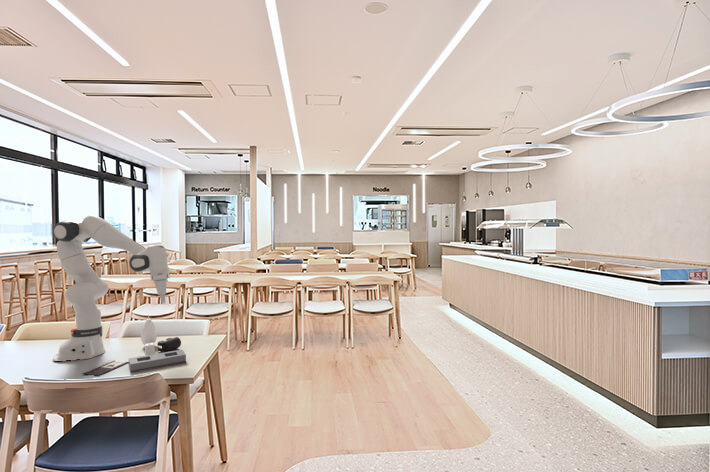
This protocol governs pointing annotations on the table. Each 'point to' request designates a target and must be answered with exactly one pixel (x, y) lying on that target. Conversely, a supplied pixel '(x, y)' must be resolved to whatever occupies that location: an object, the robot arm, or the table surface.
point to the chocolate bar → (106, 368)
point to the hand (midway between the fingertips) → (163, 302)
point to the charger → (149, 349)
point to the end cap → (169, 345)
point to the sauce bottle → (148, 332)
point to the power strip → (156, 360)
